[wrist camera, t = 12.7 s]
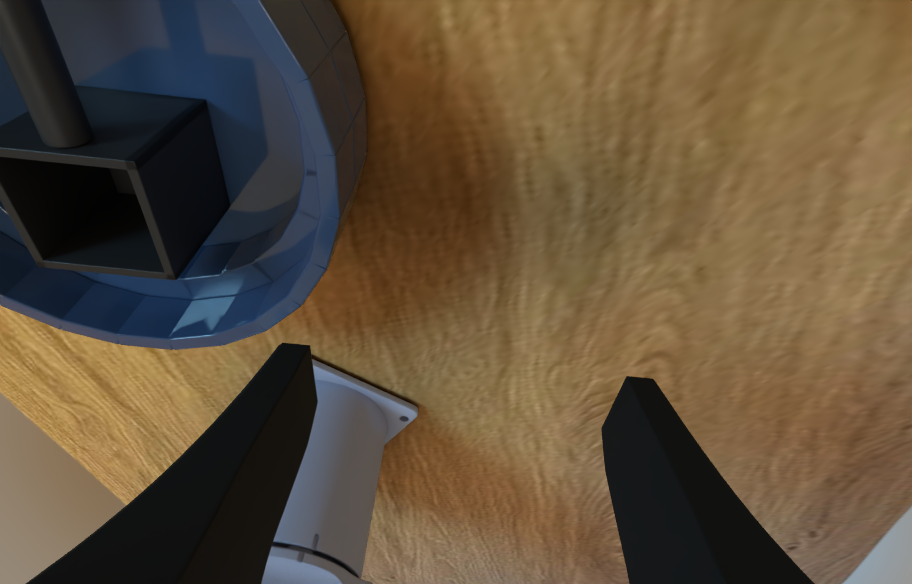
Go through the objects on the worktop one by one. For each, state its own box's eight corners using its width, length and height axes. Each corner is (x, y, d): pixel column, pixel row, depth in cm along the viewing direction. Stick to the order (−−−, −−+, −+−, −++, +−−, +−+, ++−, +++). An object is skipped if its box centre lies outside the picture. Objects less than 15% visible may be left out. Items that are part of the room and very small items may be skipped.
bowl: (274, 316, 25) (236, 400, 21) (-101, 138, 19) (-245, 208, 15) (455, 42, 16) (445, 100, 12) (-125, -408, 11) (-453, -548, 7)
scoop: (231, 206, 20) (176, 281, 16) (117, 194, 20) (38, 267, 16) (175, -33, 15) (78, 2, 11) (20, -51, 14) (-127, -21, 11)
